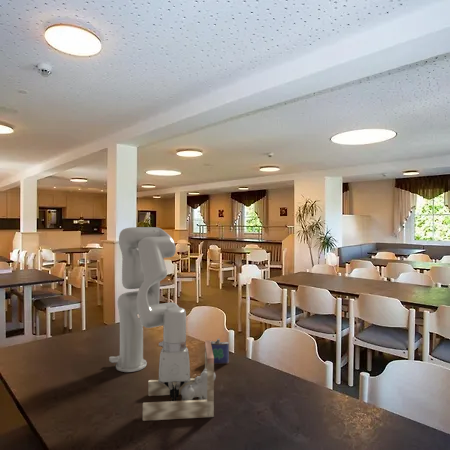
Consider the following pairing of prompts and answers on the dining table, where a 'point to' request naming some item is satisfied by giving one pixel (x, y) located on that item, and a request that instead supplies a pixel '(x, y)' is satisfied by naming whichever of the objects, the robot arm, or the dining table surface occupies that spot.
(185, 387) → the dog figurine
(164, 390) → the channel
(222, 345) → the flask
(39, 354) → the dining table surface
